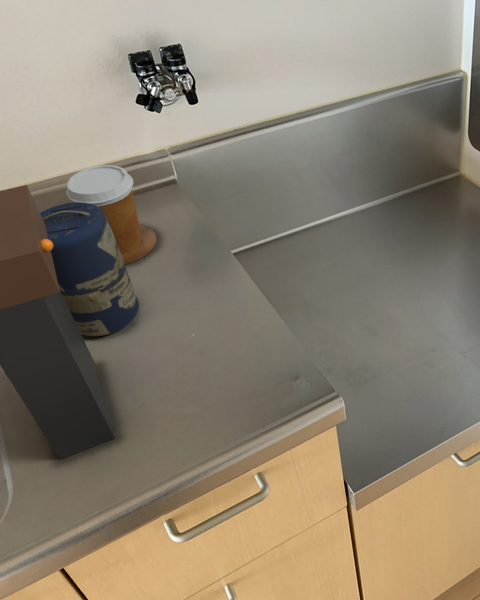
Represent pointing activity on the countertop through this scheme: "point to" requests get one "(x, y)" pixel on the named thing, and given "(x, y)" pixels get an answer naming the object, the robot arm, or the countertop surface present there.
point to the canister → (90, 268)
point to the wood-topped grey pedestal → (45, 335)
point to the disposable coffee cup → (109, 200)
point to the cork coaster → (141, 246)
